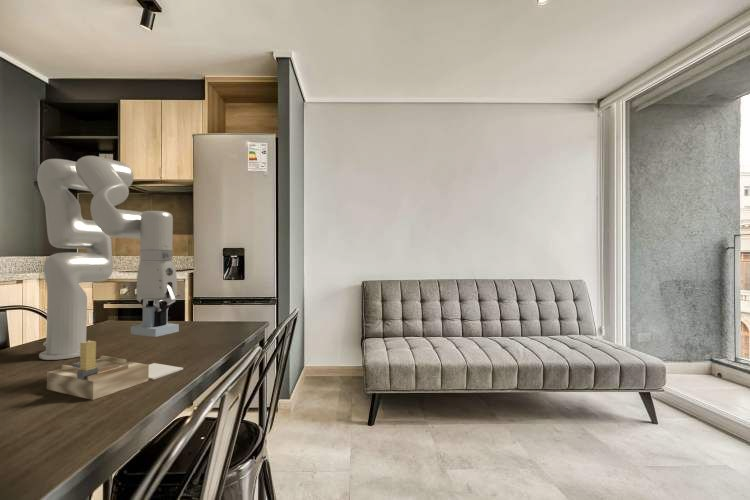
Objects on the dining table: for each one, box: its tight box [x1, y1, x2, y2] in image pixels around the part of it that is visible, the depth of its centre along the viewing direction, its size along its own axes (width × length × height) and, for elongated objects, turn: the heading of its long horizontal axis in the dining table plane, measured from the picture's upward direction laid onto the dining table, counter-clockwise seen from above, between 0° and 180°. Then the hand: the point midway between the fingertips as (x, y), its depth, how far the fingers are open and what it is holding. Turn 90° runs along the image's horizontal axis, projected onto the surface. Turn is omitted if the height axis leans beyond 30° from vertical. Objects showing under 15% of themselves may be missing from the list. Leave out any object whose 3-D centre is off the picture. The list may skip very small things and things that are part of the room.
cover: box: [130, 305, 180, 338], centre depth 99 cm, size 9×7×7 cm
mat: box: [148, 362, 184, 381], centre depth 99 cm, size 11×9×1 cm
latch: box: [71, 340, 98, 380], centre depth 82 cm, size 5×3×8 cm, turn 70°
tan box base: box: [46, 355, 150, 400], centre depth 89 cm, size 16×13×5 cm
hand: (155, 324), depth 99 cm, fingers closed on cover, 3 cm apart
